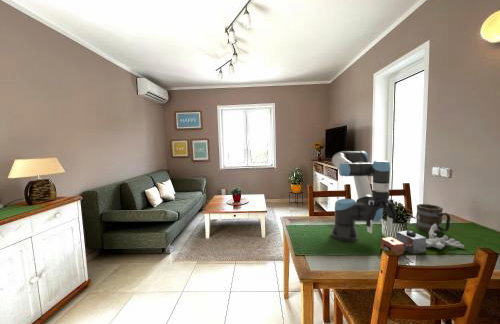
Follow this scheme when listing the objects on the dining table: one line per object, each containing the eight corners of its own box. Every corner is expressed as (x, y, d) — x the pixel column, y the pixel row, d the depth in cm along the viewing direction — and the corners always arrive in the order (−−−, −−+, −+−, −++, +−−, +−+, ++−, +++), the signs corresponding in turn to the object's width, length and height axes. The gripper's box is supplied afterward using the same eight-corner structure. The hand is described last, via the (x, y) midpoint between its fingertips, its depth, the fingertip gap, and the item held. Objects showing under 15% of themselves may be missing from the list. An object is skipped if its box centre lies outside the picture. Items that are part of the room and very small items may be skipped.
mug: (410, 225, 152) (411, 204, 150) (427, 224, 154) (428, 203, 153) (439, 237, 132) (440, 213, 131) (457, 235, 135) (459, 211, 133)
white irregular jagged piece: (409, 223, 132) (439, 223, 134) (407, 236, 133) (437, 235, 135) (439, 240, 113) (473, 239, 115) (436, 254, 115) (470, 253, 117)
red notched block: (390, 247, 122) (390, 236, 121) (403, 254, 114) (403, 243, 114) (381, 248, 121) (381, 237, 120) (393, 255, 113) (393, 244, 112)
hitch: (408, 243, 126) (408, 227, 125) (425, 252, 116) (426, 234, 115) (379, 247, 122) (379, 231, 121) (394, 256, 112) (395, 239, 111)
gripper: (366, 193, 107) (365, 236, 109) (406, 190, 112) (404, 231, 114) (355, 190, 114) (354, 230, 116) (393, 187, 119) (392, 225, 121)
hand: (379, 230), depth 115 cm, fingers open, 12 cm apart
